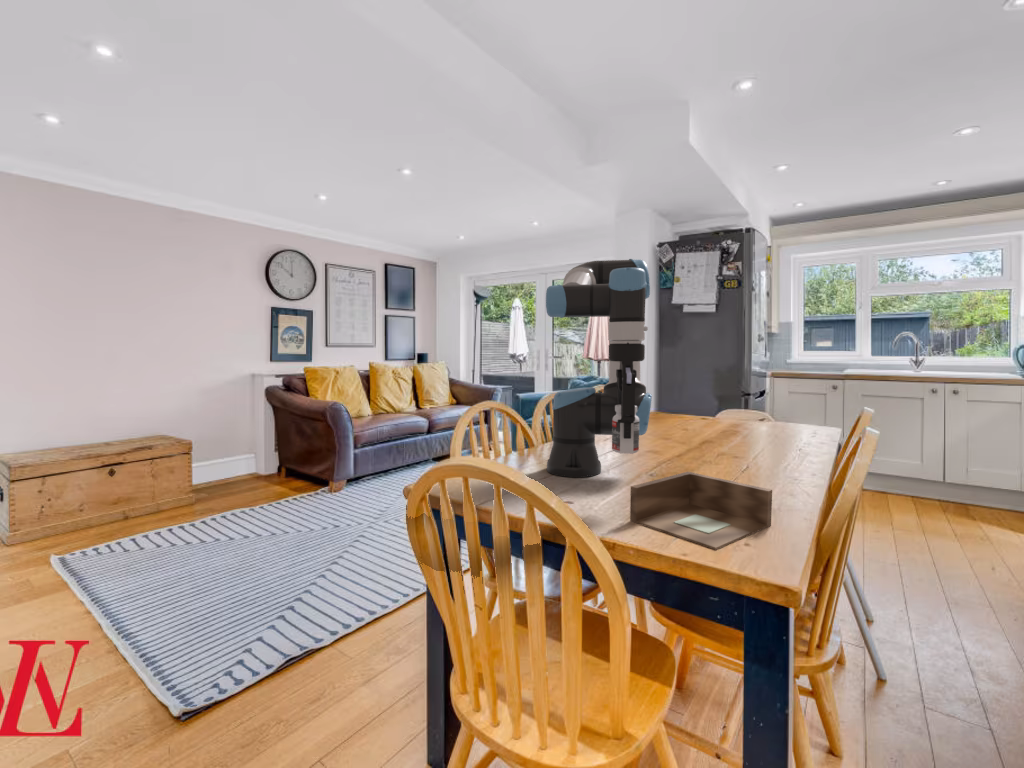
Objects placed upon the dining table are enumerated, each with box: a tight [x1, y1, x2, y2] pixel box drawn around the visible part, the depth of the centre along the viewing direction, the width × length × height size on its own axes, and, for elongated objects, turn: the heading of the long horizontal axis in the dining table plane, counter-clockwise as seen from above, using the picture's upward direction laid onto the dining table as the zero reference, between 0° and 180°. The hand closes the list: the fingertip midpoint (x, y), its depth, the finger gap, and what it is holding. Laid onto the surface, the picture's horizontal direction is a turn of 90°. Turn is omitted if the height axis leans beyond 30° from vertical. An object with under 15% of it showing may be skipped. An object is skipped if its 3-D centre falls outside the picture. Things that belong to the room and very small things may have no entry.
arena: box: [629, 471, 773, 550], centre depth 99 cm, size 18×20×7 cm
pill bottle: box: [611, 405, 640, 454], centre depth 109 cm, size 6×6×10 cm
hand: (625, 449), depth 109 cm, fingers closed on pill bottle, 6 cm apart
